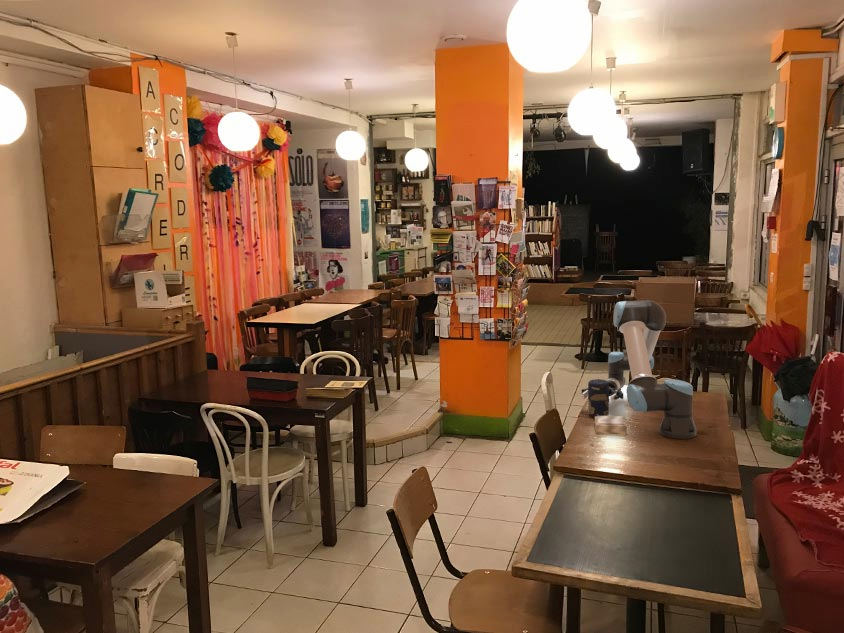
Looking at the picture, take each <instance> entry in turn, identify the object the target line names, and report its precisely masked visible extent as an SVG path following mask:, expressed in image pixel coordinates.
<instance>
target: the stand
mask: <svg viewBox="0 0 844 633" xmlns="http://www.w3.org/2000/svg"><path fill="white" fill-rule="evenodd" d="M594 428H595V429H596V430H595V434H596V435H617V434H627V435H628V425H627V421H626V418H625V416H621V415H619V416H618V415H608V416H595V417H594Z"/></svg>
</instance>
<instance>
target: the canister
mask: <svg viewBox="0 0 844 633" xmlns="http://www.w3.org/2000/svg"><path fill="white" fill-rule="evenodd" d="M606 380H607V379H600V378H595V379H591V380H589V381H588V382H587V385H588V386H587V388H588V396H587V398H588V399H587V403H588V404H587V406H588V408H587V410H588V415H589V416H591V417H593V418H595V416H609V414H610V396H609V383H608V381H606Z"/></svg>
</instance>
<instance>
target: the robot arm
mask: <svg viewBox="0 0 844 633" xmlns="http://www.w3.org/2000/svg"><path fill="white" fill-rule="evenodd" d="M612 321H613V326H614V327H615V328H618V329H619V332H620V333H621V334H623V338H624V343H625V350H626V354H627V355H625V354H624V352H622V351H611V352H609V354H608V357H607V358H608V359H607V364H608V369H607V370H608V372H607V379H605V380H606V381H608V383H609V397H610V403H614V402H615V401H616V400H619V399H621V400H624V393H623V391H622V389H623V388H624V386H625V385H626V382H627V381H626V377H625V375H624V374H625V372H627V371H628V372H629V371H630V375H631V380H630V381H629V383H628V385H627V387H626V397H627V398H626V399H627V402H628V404H629V407H630V408H631V409H632V410H633V411H634V412H642V413H646V412H663V416H662V418H661V419H662V420H661V421H660V425H659V429H658V433H659V434H660V435H661V436H664V437H666V438H670V439H678V440H688V439H692V438H695V437H696V436H697V426H696V423H695V421H694V418H693V410H694V409H693V406H694V386H693V385H692V384H691V383H690V382H687V381H684V380H681V379H673V378H670V379H669V378H668V379H665V380H664V381H663V383H658V379H657V378H656V377H654V376H653V374H652V370H653V369H654V366H655V359H654V356H653V354H654V351H655V347H656V345H657V342H658V339H659V336H660V333H661V331H663V330H664V329H665V326H666V323H667V315H666V312H665V309H664V307H662V306H661V305H660V303H658V302H656V301H654V300H648V299H647V300H623V301H618V302H616V304H615V305H614V309H613V319H612ZM581 395H582V396H581V399H582V400H585V399H586V398H588V387H585V388H581Z"/></svg>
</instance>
